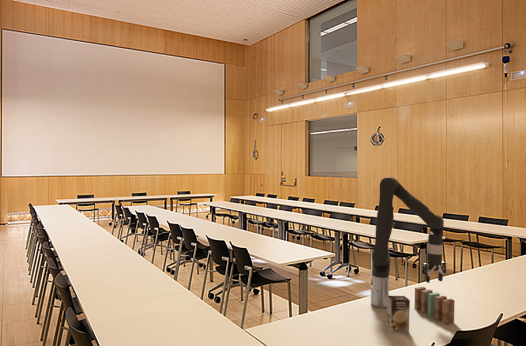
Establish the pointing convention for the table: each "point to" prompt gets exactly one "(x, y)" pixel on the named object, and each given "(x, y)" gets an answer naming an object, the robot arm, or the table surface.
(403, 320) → the coffee box
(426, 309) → the domino
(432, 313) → the domino
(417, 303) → the domino
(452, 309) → the domino
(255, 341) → the table surface
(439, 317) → the domino
